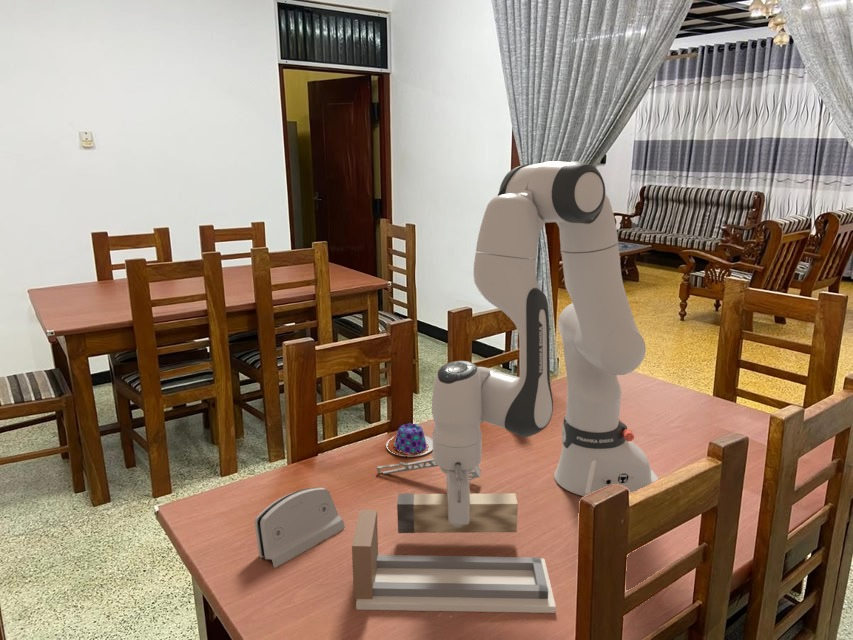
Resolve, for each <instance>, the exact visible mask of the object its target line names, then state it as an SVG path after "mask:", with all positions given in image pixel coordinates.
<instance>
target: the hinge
mask: <svg viewBox="0 0 853 640" xmlns="http://www.w3.org/2000/svg"><path fill="white" fill-rule="evenodd" d="M344 528H345V529H346V526H345V524H344V520H343V519H342V517H341V516H340V515H339V512H338V510H337V508H336V505H335V502H334V501H333V498H332V496H331V492H330V490H328V489H327V488H324V487H309V488H303V489H299V490H295V491H293V492H291V493H288V494H286V495H284V496H282V497H280V498H278V499H276V500H275V501H274V502H272V503H270V504H269V505H267V507H265V508H264V509H263V510H262V511H261V512H260V513H259V514H257V516H256V517H255V519H254V529H255V537H256V543H257V544H256V545H257V549H258V556H259V558H260V559H262V558H264V559H265V560H271V561H272V565H273V568H275V569H276V568H278V567H279V566H282V565H283V564H285V563H287V562H289V561H290V560H292V559H293V558H296V557H297V556H299V555H301V554H303V553H304V552H306V551H308V550H310V549H312V548H314V547H315V546H316V545H318V543H319V542H320V543H322V542H324V541H326V540H328V539H329V538H331V537H333V536H334V535H336V534H338V533H340V532H342V531H343V530H345V529H344ZM341 530H342V531H341ZM339 531H340V532H339ZM325 539H326V540H325ZM323 540H324V541H323ZM321 541H322V542H321ZM320 543H319V544H320Z"/></svg>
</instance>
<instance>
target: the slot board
mask: <svg viewBox="0 0 853 640" xmlns="http://www.w3.org/2000/svg"><path fill="white" fill-rule="evenodd" d="M378 535H379V534H378V510H376V509H375V510H374V509H359V512H358V516H357V521H356V526H355V530H354V534H353V539H352V544H351V556H352V558H351V560H352V561H351V562H352V584H353V586H352V587H353V600H356V602H355V606H356V607H355V609H356V610H360V611H410V612H411V611H414V612H415V611H420V612H421V611H424V612H476V613H477V612H478V613H479V612H480V613H482V612H483V613H485V612H486V613H535V614H536V613H537V614H538V613H540V614H541V613H542V614H547V613H548V614H550V613H551V614H556V609H557V607H556V602H555V596H554V593H553V590H552V584H551V581H550V576H549V573H548V568H547V564H546V560H545V558H543V557H542V558H541V557H534V556H533V557H532V556H530V557H529V556H528V557H527V556H521V557H520V556H476V555H475V556H470V555H469V556H467V555H466V556H465V555H464V556H463V555H460V556H459V555H458V556H457V555H405V554H403V555H400V554H399V555H397V554H396V555H393V554H379V538H378Z"/></svg>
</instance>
